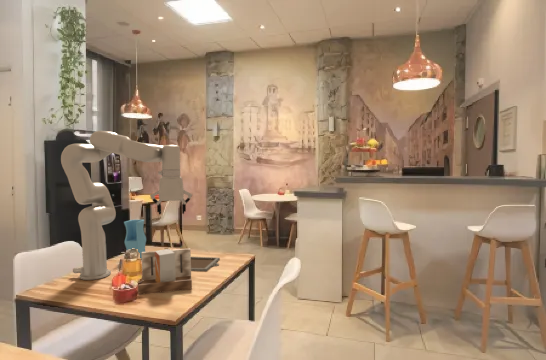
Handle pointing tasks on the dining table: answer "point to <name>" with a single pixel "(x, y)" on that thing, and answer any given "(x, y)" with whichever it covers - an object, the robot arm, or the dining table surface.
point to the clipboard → (203, 263)
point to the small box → (165, 265)
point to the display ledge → (181, 281)
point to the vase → (135, 235)
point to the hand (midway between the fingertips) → (171, 213)
